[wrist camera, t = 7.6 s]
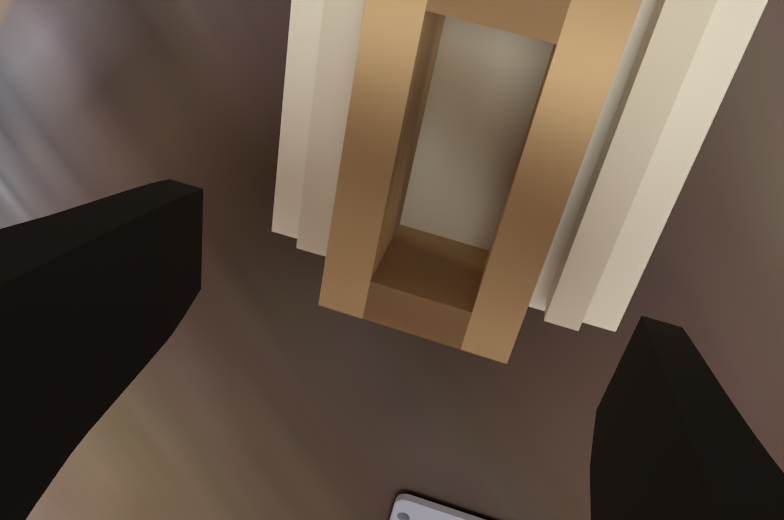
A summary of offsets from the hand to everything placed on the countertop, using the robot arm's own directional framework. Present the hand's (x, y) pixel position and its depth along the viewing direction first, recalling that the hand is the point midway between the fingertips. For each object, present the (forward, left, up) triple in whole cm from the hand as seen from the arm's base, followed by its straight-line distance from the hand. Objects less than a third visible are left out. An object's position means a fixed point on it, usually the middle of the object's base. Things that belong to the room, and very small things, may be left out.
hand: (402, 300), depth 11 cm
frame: (0, 0, -9) cm, 9 cm away
